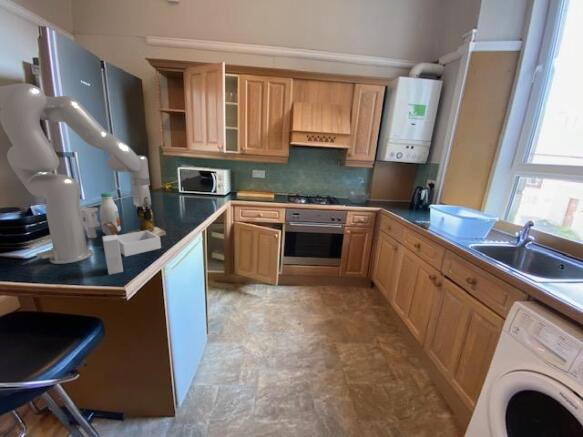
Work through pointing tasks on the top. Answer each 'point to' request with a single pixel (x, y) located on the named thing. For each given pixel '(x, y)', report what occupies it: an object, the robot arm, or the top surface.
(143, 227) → the condiment
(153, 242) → the bin
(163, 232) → the board
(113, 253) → the skincare box
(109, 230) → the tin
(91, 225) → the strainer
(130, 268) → the top surface
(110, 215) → the milk bottle
